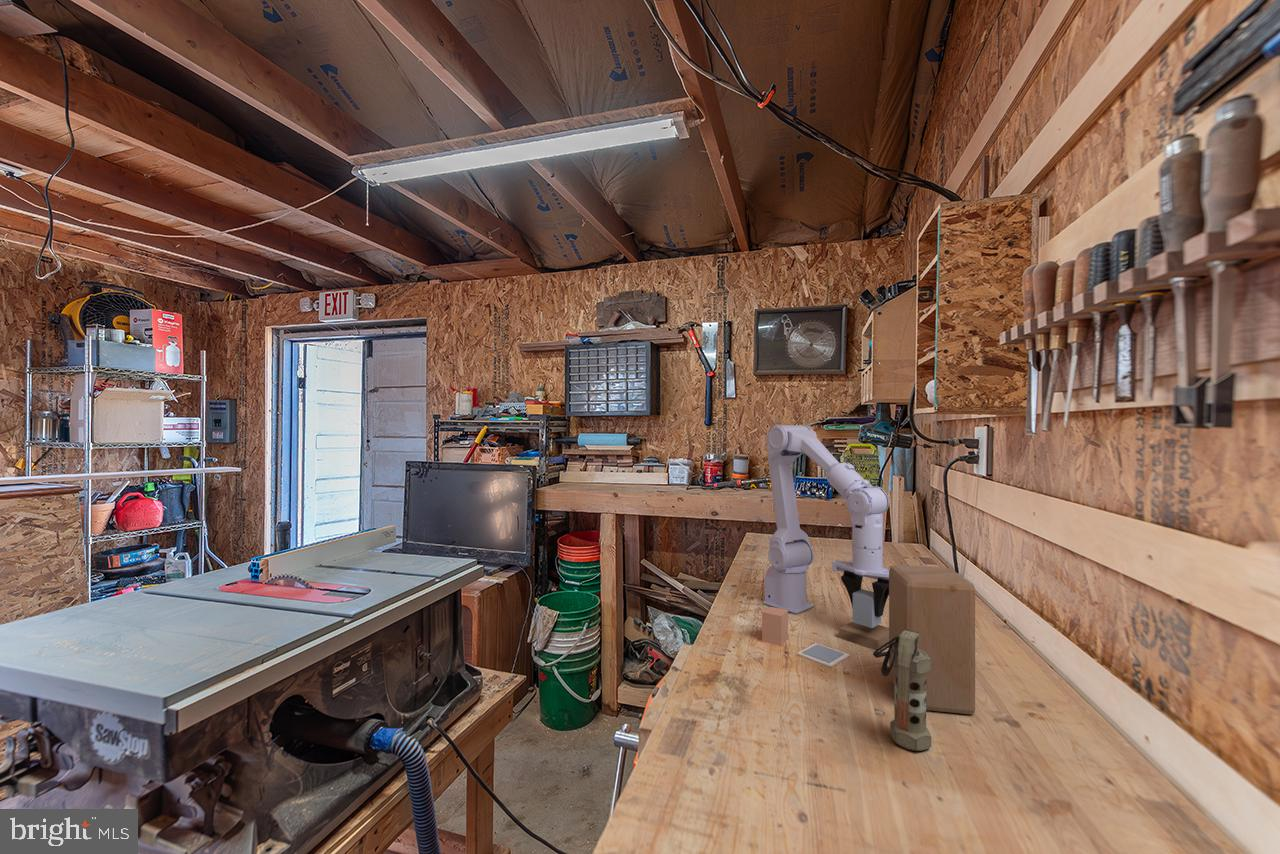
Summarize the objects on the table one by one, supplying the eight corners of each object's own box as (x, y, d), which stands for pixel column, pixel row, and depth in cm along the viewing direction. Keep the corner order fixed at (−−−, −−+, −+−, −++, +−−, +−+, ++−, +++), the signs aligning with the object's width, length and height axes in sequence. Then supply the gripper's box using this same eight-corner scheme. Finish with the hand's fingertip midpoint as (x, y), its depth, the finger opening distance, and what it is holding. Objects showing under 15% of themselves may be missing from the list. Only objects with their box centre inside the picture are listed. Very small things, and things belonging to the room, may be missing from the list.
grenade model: (881, 723, 74) (881, 620, 74) (934, 742, 70) (934, 633, 70) (867, 743, 70) (867, 633, 70) (923, 765, 65) (923, 648, 65)
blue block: (852, 622, 104) (852, 593, 104) (862, 617, 107) (862, 589, 107) (871, 628, 101) (871, 598, 101) (881, 623, 104) (881, 593, 104)
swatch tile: (796, 654, 97) (796, 651, 97) (815, 644, 102) (815, 641, 102) (831, 667, 92) (831, 664, 92) (849, 656, 96) (849, 653, 96)
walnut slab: (839, 640, 105) (839, 628, 105) (857, 630, 110) (857, 618, 110) (878, 653, 99) (878, 640, 99) (895, 642, 104) (895, 629, 104)
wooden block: (978, 718, 76) (978, 583, 76) (905, 710, 78) (905, 579, 78) (951, 685, 86) (951, 566, 86) (887, 679, 88) (887, 563, 88)
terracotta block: (761, 641, 103) (762, 612, 103) (768, 635, 106) (768, 606, 106) (781, 646, 101) (781, 616, 101) (787, 639, 104) (787, 610, 104)
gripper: (824, 543, 107) (824, 607, 107) (895, 556, 96) (895, 627, 96) (841, 538, 112) (841, 600, 112) (910, 550, 101) (910, 618, 101)
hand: (867, 612), depth 104 cm, fingers closed on blue block, 4 cm apart
